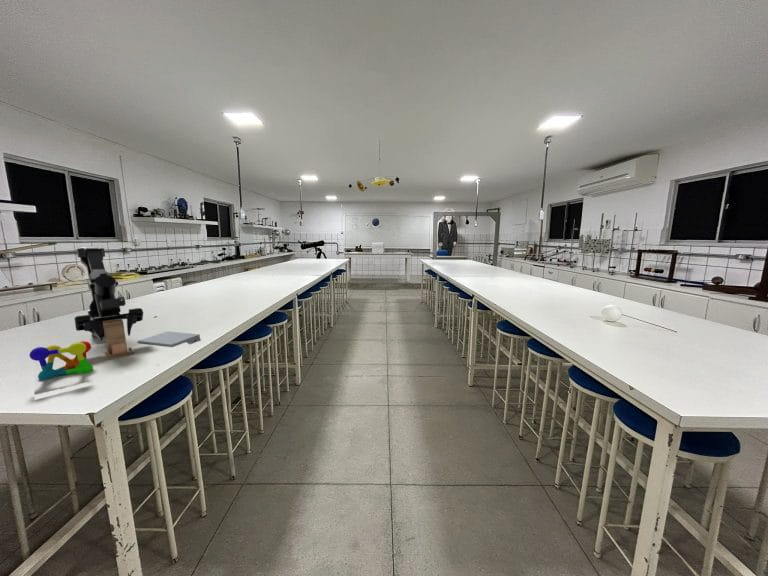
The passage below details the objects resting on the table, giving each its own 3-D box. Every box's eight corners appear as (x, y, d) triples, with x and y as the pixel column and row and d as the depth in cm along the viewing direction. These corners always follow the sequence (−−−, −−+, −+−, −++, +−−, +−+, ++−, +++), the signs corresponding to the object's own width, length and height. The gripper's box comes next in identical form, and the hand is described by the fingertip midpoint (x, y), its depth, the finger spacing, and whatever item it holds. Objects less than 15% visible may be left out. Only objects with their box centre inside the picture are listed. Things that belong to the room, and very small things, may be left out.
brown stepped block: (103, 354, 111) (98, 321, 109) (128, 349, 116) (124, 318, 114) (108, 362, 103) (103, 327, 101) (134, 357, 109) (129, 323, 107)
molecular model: (73, 367, 101) (102, 330, 101) (80, 391, 94) (111, 352, 95) (8, 361, 88) (42, 319, 89) (11, 388, 82) (47, 343, 83)
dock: (137, 345, 120) (137, 340, 120) (168, 335, 133) (167, 331, 132) (171, 349, 116) (171, 344, 116) (200, 338, 129) (199, 334, 128)
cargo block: (112, 354, 108) (111, 345, 107) (125, 351, 110) (123, 342, 110) (114, 357, 105) (112, 347, 105) (126, 354, 108) (125, 344, 107)
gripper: (70, 293, 103) (78, 331, 98) (139, 287, 117) (149, 320, 112) (72, 312, 110) (79, 348, 104) (137, 304, 124) (147, 336, 118)
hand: (115, 337), depth 110 cm, fingers open, 7 cm apart
